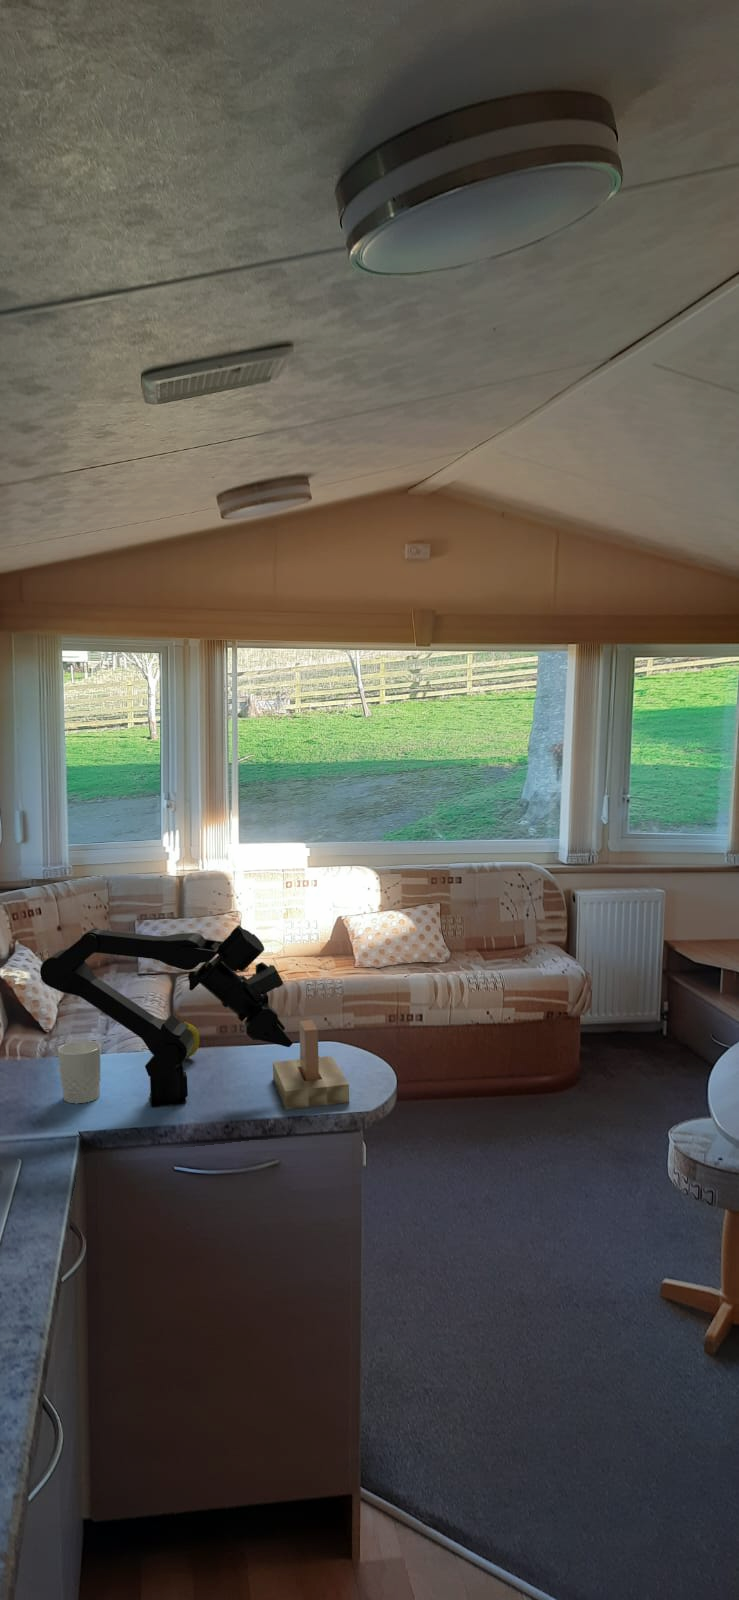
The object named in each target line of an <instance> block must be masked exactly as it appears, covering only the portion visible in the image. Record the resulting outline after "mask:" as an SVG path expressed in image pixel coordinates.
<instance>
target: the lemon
mask: <svg viewBox="0 0 739 1600" xmlns="http://www.w3.org/2000/svg"><path fill="white" fill-rule="evenodd" d="M182 1023H183V1024H187V1025H189V1026H188V1027H187V1028H188V1029H189V1030H190V1031H191V1032H192V1033H193V1037H194V1046H193V1049H192V1050H191V1052H190V1053H189V1055H188V1056H187V1057H186V1059H185V1060H188V1059H189V1058H190V1057H191V1056H194V1054H196V1052H197V1051H198V1049H199V1046H200V1035H199V1032H198V1029H197V1028H196V1027H195V1026H194V1025H193V1024H191V1023H188V1022H186V1021H184V1022H182Z"/></svg>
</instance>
